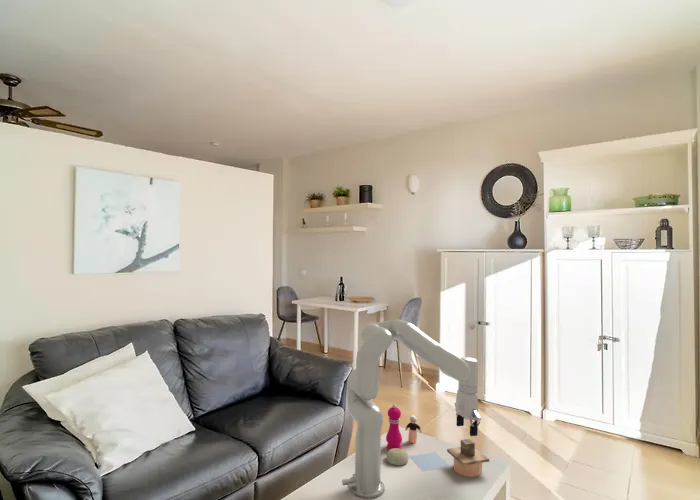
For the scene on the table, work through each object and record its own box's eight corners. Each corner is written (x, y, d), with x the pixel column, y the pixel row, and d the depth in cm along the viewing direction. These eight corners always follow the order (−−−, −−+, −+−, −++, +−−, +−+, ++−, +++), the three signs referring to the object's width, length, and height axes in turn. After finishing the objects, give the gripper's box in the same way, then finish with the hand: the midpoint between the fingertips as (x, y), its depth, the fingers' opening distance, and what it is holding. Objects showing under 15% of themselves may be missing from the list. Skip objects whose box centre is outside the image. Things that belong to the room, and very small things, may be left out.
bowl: (463, 478, 156) (463, 464, 157) (448, 465, 167) (448, 451, 167) (487, 475, 160) (487, 461, 160) (471, 461, 170) (471, 448, 170)
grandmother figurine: (404, 444, 186) (405, 416, 186) (404, 440, 189) (405, 413, 190) (421, 445, 184) (421, 417, 185) (421, 441, 188) (421, 414, 189)
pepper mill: (389, 453, 176) (389, 407, 177) (383, 446, 183) (384, 402, 184) (404, 451, 178) (404, 406, 179) (398, 444, 185) (398, 400, 186)
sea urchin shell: (405, 465, 163) (392, 447, 166) (392, 475, 165) (380, 458, 168) (413, 455, 171) (401, 439, 174) (401, 465, 173) (389, 449, 176)
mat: (422, 471, 161) (422, 471, 161) (408, 456, 174) (408, 455, 174) (451, 467, 165) (451, 466, 165) (435, 452, 178) (435, 452, 178)
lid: (462, 465, 156) (462, 450, 156) (446, 451, 167) (447, 436, 168) (489, 461, 159) (489, 446, 160) (471, 447, 171) (471, 433, 171)
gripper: (448, 382, 171) (447, 423, 171) (472, 395, 155) (470, 440, 154) (464, 381, 173) (462, 421, 173) (488, 394, 157) (487, 438, 156)
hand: (466, 430), depth 164 cm, fingers open, 9 cm apart
